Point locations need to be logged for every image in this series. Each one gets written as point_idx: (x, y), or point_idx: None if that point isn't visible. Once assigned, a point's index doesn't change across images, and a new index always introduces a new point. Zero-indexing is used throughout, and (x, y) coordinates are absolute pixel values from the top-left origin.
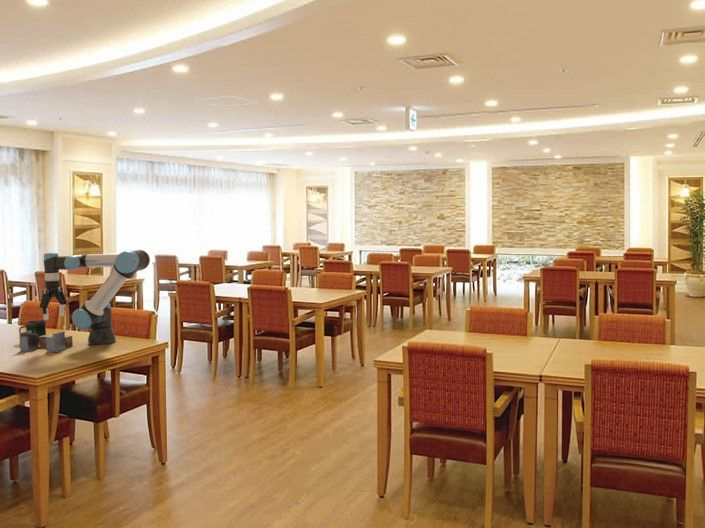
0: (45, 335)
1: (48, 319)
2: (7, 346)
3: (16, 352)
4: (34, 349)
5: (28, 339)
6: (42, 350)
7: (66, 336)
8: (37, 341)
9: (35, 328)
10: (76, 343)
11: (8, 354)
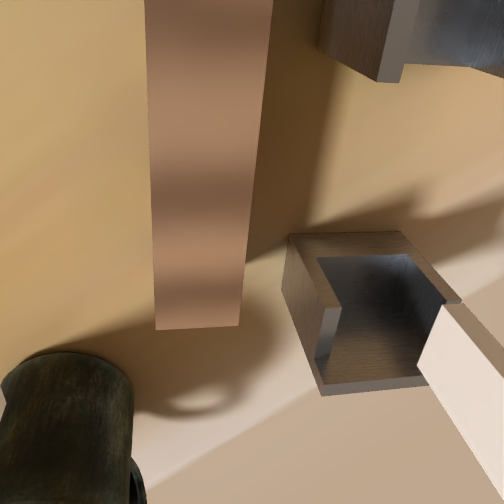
0: (177, 312)
1: (453, 307)
2: (235, 431)
3: None
4: (337, 233)
5: (436, 284)
6: (372, 152)
7: (205, 33)
8: (318, 266)
9: (107, 468)
10: (2, 17)
11: (471, 284)
